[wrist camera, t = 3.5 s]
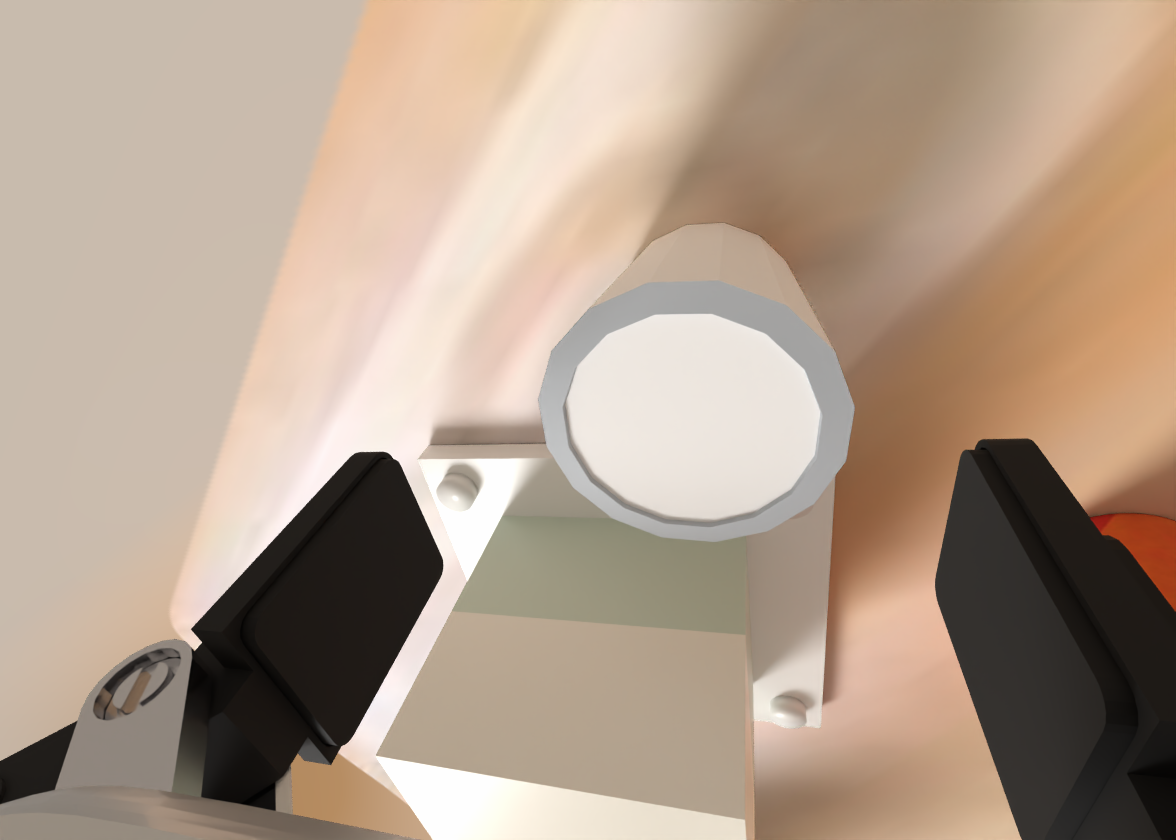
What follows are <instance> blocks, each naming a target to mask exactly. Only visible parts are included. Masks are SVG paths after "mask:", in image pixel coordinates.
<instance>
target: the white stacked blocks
mask: <svg viewBox="0 0 1176 840" xmlns="http://www.w3.org/2000/svg"><path fill="white" fill-rule="evenodd" d="M418 462H419V464H420V467H421V469H422V471H423V474H424V476H425V479H426V481H427V484H428V486H429V488H430V491H431V493H432V496H433V498H434V501H435V503H436V505H437V508H438V510H439V513H440V515H441V518H442V520H443V523H444V525H445V527H446V530H447V532H448V535H449V537H450V540H451V542H452V544H453V547H454V549H455V552H456V554H457V557H458V559H459V561H460V564H461V566H462V569H463V571H464V574H465V576H466V578H467V583H466V585H465V587H464V589H463V591H462V593H461V595H460V596H459V598H458V600H457V602H456V604H455V606H454V608H453V610H452V612H451V614H450V615H449V617H448V619H447V621H446V623H445V625H444V627H443V629H442V631H441V633H440V634H439V636H438V638H437V640H436V642H435V644H434V646H433V648H432V650H431V651H430V653H429V655H428V657H427V659H426V661H425V663H424V665H423V667H422V669H421V670H420V672H419V674H418V676H417V678H416V680H415V682H414V684H413V686H412V688H411V689H410V691H409V693H408V695H407V697H406V699H405V701H404V703H403V705H402V707H401V708H400V710H399V712H398V714H397V716H396V718H395V720H394V722H393V724H392V726H391V727H390V729H389V731H388V733H387V735H386V737H385V739H384V741H383V743H382V745H381V746H380V748H379V750H378V752H377V754H376V758H377V759H378V760H379V762H380V763H381V765H382V766H383V768H384V769H385V771H386V772H387V774H388V775H389V776H390V778H391V779H392V781H393V782H394V784H395V785H396V787H397V788H398V790H399V791H400V792H401V794H402V795H403V797H404V798H405V800H406V801H407V803H408V804H409V806H410V807H411V808H412V810H413V811H414V813H415V814H416V816H417V817H418V819H419V820H420V822H421V823H422V825H423V826H424V827H425V829H426V830H427V832H428V833H429V835H430V836H431V838H432V839H433V840H755V801H754V720H757V721H765V722H773V723H775V724H776V725H778V726H781V727H784V728H791V729H794V728H800V727H802V726H806V727H814V728H821V716H822V699H823V681H824V664H825V647H826V630H827V613H828V596H829V578H830V561H831V544H832V527H833V510H834V492H835V477H834V478H833V479H832V481H831V482H830V483H829V485H828V486H827V487H826V489H825V490H824V491H823V493H822V494H821V495H820V497H819V498H818V500H817V501H816V502H815V504H813V505H811V506H810V507H808V508H806V509H805V510H803V511H801V512H800V513H798V514H796V515H795V516H793V517H791V518H789V519H788V520H786V521H784V522H783V523H781V524H779V525H778V526H776V527H774V528H773V529H771V530H769V531H766V532H762V533H757V534H752V535H747V536H742V537H737V538H733V539H728V540H723V541H718V542H708V541H696V540H685V539H673V538H662V537H659V536H657V535H654V534H651V533H649V532H646V531H644V530H641V529H638V528H636V527H633V526H630V525H628V524H625V523H623V522H620V521H617V520H615V519H613V518H611V517H610V516H609V515H607V514H606V513H605V512H604V511H602V510H601V509H600V508H598V507H597V506H596V505H595V504H593V503H592V502H591V501H590V500H588V499H587V498H586V497H584V496H583V495H582V494H581V493H579V492H578V491H577V490H575V489H574V488H573V487H572V485H571V484H570V482H569V481H568V479H567V477H566V476H565V474H564V473H563V471H562V470H561V468H560V467H559V465H558V464H557V462H556V460H555V459H554V457H553V456H552V454H551V453H550V451H549V450H548V448H547V446H546V444H486V445H429V446H428V447H427V448H426V449H425V451H424V452H423V453H422V454H421V456H420V457H419V458H418Z"/></svg>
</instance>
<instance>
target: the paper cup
mask: <svg viewBox="0 0 1176 840" xmlns="http://www.w3.org/2000/svg"><path fill="white" fill-rule="evenodd" d="M1090 519H1091V520H1092V521H1093V523H1094V524H1095V526H1096V527H1097V528H1098V530H1099V531H1100V532H1101V534H1102V535H1110V536H1112V537H1114V538H1116V539H1118V540H1119V541H1120V542H1121V543H1122V544H1123V545H1124V546H1125V547H1126V548H1127V549H1128V550H1129V551H1130V552H1131V554H1132V555H1133V556H1134V558H1135V559H1136V560H1137V562H1138V563H1139V564H1140V566H1141V567H1142V568H1143V569H1144V571H1145V572H1146V573H1147V575H1148V576H1149V577H1150V579H1151V580H1152V581H1153V583H1154V584H1155V585H1156V587H1157V588H1158V589H1159V590H1160V592H1161V593H1162V594H1163V596H1164V597H1165V598H1166V600H1167V601H1168V602H1169V604H1170V605H1171V606H1172V608H1173V609H1174V610H1175V612H1176V521H1174V520H1171V519H1168V518H1164V517H1160V516H1155V515H1148V514H1136V513H1120V514H1108V515H1101V516H1095V517H1090Z"/></svg>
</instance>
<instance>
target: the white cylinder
mask: <svg viewBox="0 0 1176 840" xmlns="http://www.w3.org/2000/svg"><path fill="white" fill-rule="evenodd" d="M538 401H539V407H540V412H541V418H542V423H543V429H544V434H545V440H546V446H547V448H548V450H549V451H550V453H551V454H552V456H553V457H554V459H555V460H556V462H557V464H558V465H559V467H560V468H561V470H562V471H563V473H564V474H565V476H566V477H567V479H568V481H569V482H570V484H571V485H572V487H573V488H574V489H575V490H577V491H578V492H579V493H581V494H582V495H583V496H584V497H586V498H587V499H588V500H590V501H591V502H592V503H593V504H595V505H596V506H597V507H598V508H600V509H601V510H602V511H604V512H605V513H606V514H607V515H609V516H610V517H611V518H613V519H615V520H617V521H620V522H623V523H625V524H628V525H630V526H633V527H636V528H638V529H641V530H644V531H646V532H649V533H651V534H654V535H657V536H659V537H662V538H673V539H685V540H696V541H708V542H718V541H723V540H728V539H733V538H737V537H742V536H747V535H752V534H757V533H762V532H766V531H769V530H771V529H773V528H774V527H776V526H778V525H779V524H781V523H783V522H784V521H786V520H788V519H789V518H791V517H793V516H795V515H796V514H798V513H800V512H801V511H803V510H805V509H806V508H808V507H810V506H811V505H813V504H815V502H816V501H817V500H818V498H819V497H820V495H821V494H822V493H823V491H824V490H825V489H826V487H827V486H828V485H829V483H830V482H831V481H832V479H833V478H834V477H835V475H836V474H837V473H838V471H839V470H840V469H841V467H842V466H843V465H844V463H845V462H846V458H847V452H848V446H849V440H850V434H851V428H852V422H853V416H854V410H855V406H854V403H853V400H852V398H851V395H850V392H849V389H848V386H847V384H846V381H845V378H844V375H843V372H842V370H841V367H840V364H839V361H838V358H837V355H836V353H835V350H834V349H833V347H832V345H831V343H830V341H829V339H828V338H827V336H826V334H825V332H824V330H823V328H822V327H821V325H820V323H819V321H818V319H817V318H816V316H815V314H814V312H813V310H812V308H811V307H810V305H809V303H808V301H807V299H806V297H805V296H804V294H803V292H802V290H801V288H800V287H799V285H798V283H797V281H796V279H795V277H794V276H793V274H792V272H791V270H790V268H789V266H788V265H787V263H786V261H785V260H784V259H783V258H782V257H781V256H780V255H779V254H778V253H777V252H776V251H775V250H774V249H773V248H772V247H771V246H770V245H769V244H768V243H767V242H766V241H764V240H763V239H762V238H761V237H760V236H759V235H756V234H754V233H751V232H748V231H745V230H743V229H740V228H737V227H734V226H732V225H729V224H726V223H711V224H692V225H685V226H683V227H681V228H679V229H676V230H674V231H672V232H670V233H668V234H666V235H664V236H662V237H660V238H658V239H656V240H653V241H652V242H651V243H650V244H649V246H648V247H647V248H646V249H645V250H644V251H643V252H642V253H641V254H640V255H639V256H638V257H637V258H636V259H635V260H634V261H633V263H632V264H631V265H630V266H629V267H628V268H627V269H626V270H625V271H624V272H623V273H622V274H621V275H620V276H619V277H618V278H617V280H616V281H615V282H614V283H613V284H612V285H611V286H610V287H609V288H608V289H607V290H606V291H605V292H604V293H603V294H602V295H601V297H600V298H599V299H598V300H597V301H596V302H595V303H594V304H593V305H592V306H591V307H590V308H589V309H588V310H587V312H586V313H585V314H584V315H583V316H582V317H581V318H580V319H579V321H578V322H577V323H576V324H575V325H574V326H573V327H572V328H571V330H570V331H569V332H568V333H567V334H566V335H565V336H564V337H563V339H562V340H561V341H560V342H559V343H558V344H557V345H556V346H555V348H554V349H553V350H552V351H551V355H550V358H549V362H548V366H547V369H546V373H545V376H544V380H543V384H542V387H541V391H540V395H539V398H538Z"/></svg>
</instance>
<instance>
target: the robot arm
mask: <svg viewBox="0 0 1176 840" xmlns="http://www.w3.org/2000/svg"><path fill="white" fill-rule="evenodd" d="M442 572H443V559H442V556H441V554H440V552H439V550H438V547H437V545H436V543H435V541H434V538H433V536H432V534H431V532H430V530H429V527H428V525H427V523H426V521H425V518H424V516H423V514H422V512H421V510H420V507H419V505H418V503H417V501H416V498H415V496H414V494H413V492H412V490H411V487H410V485H409V483H408V481H407V478H406V476H405V474H404V472H403V470H402V467H401V465H400V464H399V462H398V461H396V460H394V459H393V458H392V456H391V455H390V454H388V453H386V452H359V453H355V454H354V455H352V456H351V457H350V458H349V459H348V460H347V461H346V462H345V463H344V464H343V466H342V467H341V468H340V469H339V470H338V471H337V472H336V473H335V474H334V475H333V476H332V477H331V479H330V480H329V481H328V482H327V483H326V484H325V485H324V486H323V487H322V488H321V489H320V490H319V491H318V493H317V494H316V495H315V496H314V497H313V498H312V499H311V500H310V501H309V502H308V503H307V504H306V506H305V507H304V508H303V509H302V510H301V511H300V512H299V513H298V514H297V515H296V516H295V517H294V518H293V520H292V521H291V522H290V523H289V524H288V525H287V526H286V527H285V528H284V529H283V530H282V531H281V533H280V534H279V535H278V536H277V537H276V538H275V539H274V540H273V541H272V542H271V543H270V544H269V545H268V547H267V548H266V549H265V550H264V551H263V552H262V553H261V554H260V555H259V556H258V557H257V558H256V560H255V561H254V562H253V563H252V564H251V565H250V566H249V567H248V568H247V569H246V570H245V571H244V572H243V574H242V575H241V576H240V577H239V578H238V579H237V580H236V581H235V582H234V583H233V584H232V585H231V587H230V588H229V589H228V590H227V591H226V592H225V593H224V594H223V595H222V596H221V597H220V598H219V599H218V601H217V602H216V603H215V604H214V605H213V606H212V607H211V608H210V609H209V610H208V611H207V612H206V614H205V615H204V616H203V617H202V618H201V619H200V620H199V621H198V622H197V623H196V624H195V625H194V626H193V628H192V629H191V630H192V631H193V632H194V633H195V635H196V636H197V637H198V638H199V639H200V640H201V641H202V644H201V645H200V646H199V647H198V648H197V649H196V650H195V651H194V650H193V649H192V648H191V647H190V646H189V645H188V644H187V642H186V641H182V640H177V639H174V640H166V641H161V642H158V643H156V644H152V645H150V646H147V647H146V648H144V649H142V650H140V651H138V652H136V653H134V654H132V655H131V656H129V657H128V658H126V659H125V660H123V661H122V662H121V663H119V664H118V665H117V666H115V667H114V668H113V669H112V670H111V671H110V672H109V673H108V674H106V675H105V676H104V677H103V678H102V679H101V680H100V681H99V682H98V684H97V685H96V686H95V687H94V689H93V690H92V691H91V692H90V694H89V695H88V697H87V699H86V701H85V703H84V705H83V707H82V709H81V712H80V715H79V718H78V721H76V722H74V723H72V724H70V725H68V726H67V727H64V728H63V729H61V730H59V731H57V732H55V733H53V734H51V735H49V736H47V737H45V738H44V739H42V740H40V741H38V742H36V743H34V744H32V745H30V746H28V747H26V748H24V749H23V750H21V751H19V752H17V753H15V754H13V755H11V756H9V757H7V758H5V759H3V760H1V761H0V840H419V839H414V838H409V837H404V836H399V835H394V834H389V833H384V832H379V831H374V830H369V829H364V828H359V827H354V826H349V825H344V824H339V823H334V822H329V821H323V820H318V819H313V818H308V817H303V816H298V815H293V812H292V780H291V763H292V762H293V760H294V758H295V757H296V755H297V754H299V755H300V756H301V757H302V758H303V760H304V761H310V762H316V763H322V764H328V765H331V764H332V762H333V760H334V759H335V757H336V755H337V753H338V751H339V750H340V748H341V746H343V745H345V744H347V743H348V742H349V741H350V740H351V738H352V737H353V735H354V734H355V732H356V730H357V728H358V726H359V724H360V723H361V721H362V719H363V717H364V715H365V714H366V712H367V710H368V708H369V706H370V705H371V703H372V701H373V699H374V697H375V695H376V694H377V692H378V690H379V688H380V686H381V685H382V683H383V681H384V679H385V677H386V676H387V674H388V672H389V670H390V668H391V666H392V665H393V663H394V661H395V659H396V657H397V656H398V654H399V652H400V650H401V648H402V647H403V645H404V643H405V641H406V639H407V637H408V636H409V634H410V632H411V630H412V628H413V627H414V625H415V623H416V621H417V619H418V618H419V616H420V614H421V612H422V610H423V609H424V607H425V605H426V603H427V601H428V599H429V598H430V596H431V594H432V592H433V590H434V589H435V587H436V585H437V583H438V581H439V580H440V578H441V575H442ZM935 590H936V597H937V601H938V604H939V607H940V610H941V613H942V616H943V619H944V621H945V624H946V627H947V630H948V633H949V636H950V638H951V641H952V644H953V647H954V650H955V653H956V655H957V658H958V661H959V664H960V667H961V670H962V672H963V675H964V678H965V681H966V684H967V687H968V689H969V692H970V695H971V698H972V701H973V704H974V706H975V709H976V712H977V715H978V718H979V721H980V723H981V726H982V729H983V732H984V735H985V738H986V740H987V743H988V746H989V749H990V752H991V755H992V757H993V760H994V763H995V766H996V769H997V772H998V774H999V777H1000V780H1001V783H1002V786H1003V789H1004V791H1005V794H1006V797H1007V800H1008V803H1009V806H1010V808H1011V811H1012V814H1013V817H1014V820H1015V823H1016V825H1017V828H1018V831H1019V834H1020V836H1021V839H1022V840H1176V612H1175V610H1174V609H1173V608H1172V606H1171V605H1170V604H1169V602H1168V601H1167V600H1166V598H1165V597H1164V596H1163V594H1162V593H1161V592H1160V590H1159V589H1158V588H1157V587H1156V585H1155V584H1154V583H1153V581H1152V580H1151V579H1150V577H1149V576H1148V575H1147V573H1146V572H1145V571H1144V569H1143V568H1142V567H1141V566H1140V564H1139V563H1138V562H1137V560H1136V559H1135V558H1134V556H1133V555H1132V554H1131V552H1130V551H1129V550H1128V549H1127V548H1126V547H1125V546H1124V545H1123V544H1122V543H1121V542H1120V541H1119V540H1118V539H1116V538H1114V537H1112V536H1110V535H1102V534H1101V532H1100V531H1099V530H1098V528H1097V527H1096V526H1095V524H1094V523H1093V521H1092V520H1091V519H1090V517H1089V516H1088V515H1087V513H1086V512H1085V511H1084V509H1083V508H1082V506H1081V505H1080V504H1079V502H1078V501H1077V500H1076V498H1075V497H1074V495H1073V494H1072V493H1071V491H1070V490H1069V489H1068V487H1067V486H1066V485H1065V483H1064V482H1063V480H1062V479H1061V478H1060V476H1059V475H1058V474H1057V472H1056V471H1055V470H1054V468H1053V467H1052V465H1051V464H1050V463H1049V461H1048V460H1047V459H1046V457H1045V456H1044V454H1043V453H1042V452H1041V450H1040V449H1039V448H1038V446H1037V445H1036V444H1035V443H1034V442H1033V441H1032V440H1030V439H983V440H980V441H979V442H978V443H977V445H976V447H975V450H965V451H963V453H962V454H961V457H960V461H959V466H958V471H957V476H956V481H955V486H954V490H953V495H952V500H951V505H950V510H949V515H948V520H947V524H946V529H945V534H944V539H943V544H942V549H941V554H940V558H939V563H938V568H937V573H936V579H935Z"/></svg>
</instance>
